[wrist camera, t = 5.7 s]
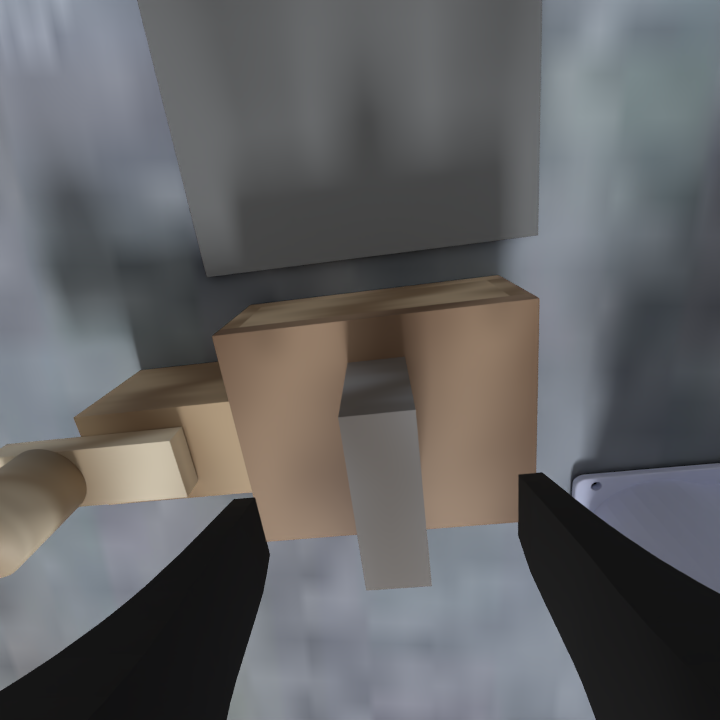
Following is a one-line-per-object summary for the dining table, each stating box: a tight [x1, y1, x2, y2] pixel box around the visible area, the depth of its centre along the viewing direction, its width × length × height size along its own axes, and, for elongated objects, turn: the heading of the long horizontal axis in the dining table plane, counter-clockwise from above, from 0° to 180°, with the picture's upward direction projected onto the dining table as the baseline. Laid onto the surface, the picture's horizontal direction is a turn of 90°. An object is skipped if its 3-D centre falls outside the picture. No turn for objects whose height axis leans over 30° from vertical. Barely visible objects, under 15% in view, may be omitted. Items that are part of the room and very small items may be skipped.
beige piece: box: [0, 427, 198, 578], centre depth 14 cm, size 7×3×4 cm, turn 97°
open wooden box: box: [74, 275, 530, 505], centre depth 18 cm, size 17×9×5 cm, turn 97°
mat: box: [137, 0, 542, 277], centre depth 16 cm, size 14×12×1 cm
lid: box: [212, 293, 539, 590], centre depth 14 cm, size 11×9×6 cm
